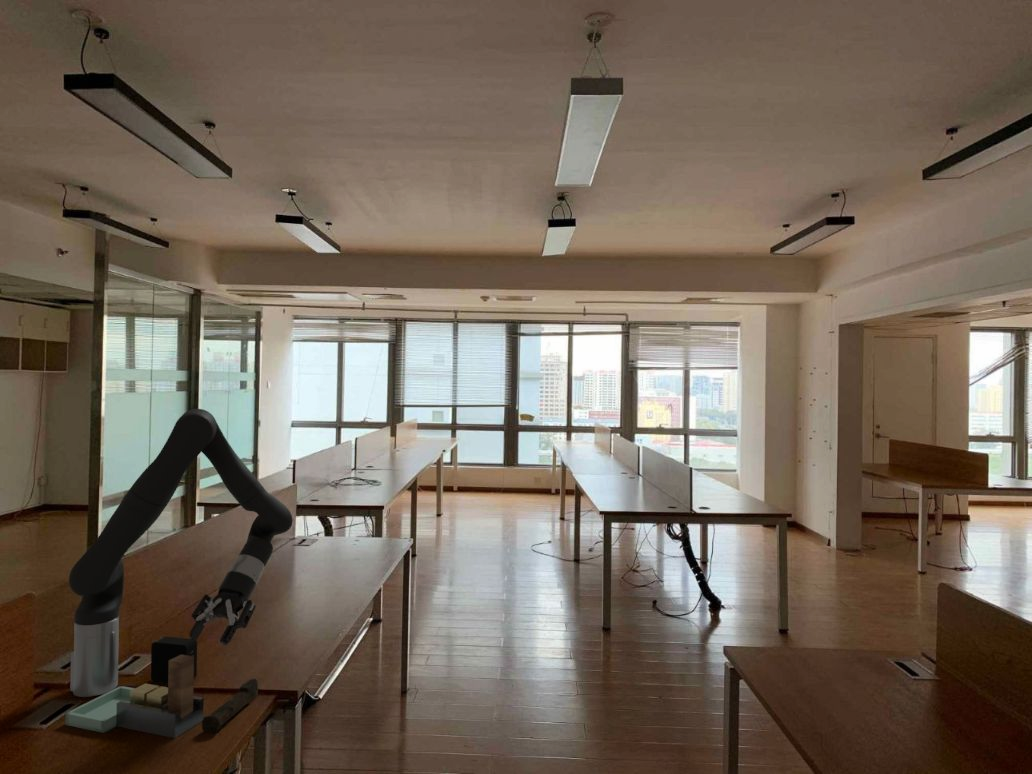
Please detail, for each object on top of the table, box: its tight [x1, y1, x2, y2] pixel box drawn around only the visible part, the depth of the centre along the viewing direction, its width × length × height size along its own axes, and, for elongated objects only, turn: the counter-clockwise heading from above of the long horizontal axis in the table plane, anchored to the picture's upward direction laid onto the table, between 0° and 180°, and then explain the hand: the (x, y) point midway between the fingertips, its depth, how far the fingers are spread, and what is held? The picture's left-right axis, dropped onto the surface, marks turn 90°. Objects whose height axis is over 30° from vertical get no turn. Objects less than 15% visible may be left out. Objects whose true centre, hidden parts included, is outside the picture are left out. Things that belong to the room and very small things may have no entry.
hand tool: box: [201, 678, 259, 735], centre depth 149 cm, size 19×4×5 cm, turn 169°
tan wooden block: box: [162, 655, 195, 718], centre depth 142 cm, size 4×5×12 cm
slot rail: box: [116, 695, 205, 739], centre depth 143 cm, size 16×8×5 cm, turn 73°
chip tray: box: [64, 685, 136, 734], centre depth 147 cm, size 11×14×2 cm
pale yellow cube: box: [147, 686, 168, 709], centre depth 143 cm, size 4×4×4 cm
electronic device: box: [150, 636, 198, 684], centre depth 165 cm, size 4×10×10 cm, turn 80°
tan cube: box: [130, 683, 160, 706], centre depth 145 cm, size 4×4×4 cm
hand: (207, 641), depth 149 cm, fingers open, 8 cm apart
